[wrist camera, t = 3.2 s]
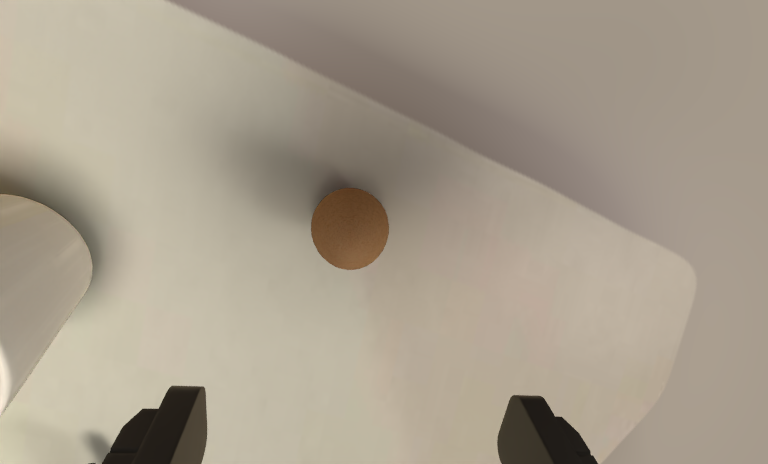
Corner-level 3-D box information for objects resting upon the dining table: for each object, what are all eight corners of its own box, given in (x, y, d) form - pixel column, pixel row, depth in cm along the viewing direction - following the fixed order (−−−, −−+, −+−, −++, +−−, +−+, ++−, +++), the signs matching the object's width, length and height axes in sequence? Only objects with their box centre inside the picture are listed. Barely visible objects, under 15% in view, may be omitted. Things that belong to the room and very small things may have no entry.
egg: (381, 174, 26) (392, 207, 20) (386, 239, 27) (397, 286, 22) (309, 180, 25) (300, 216, 20) (318, 246, 27) (313, 295, 22)
